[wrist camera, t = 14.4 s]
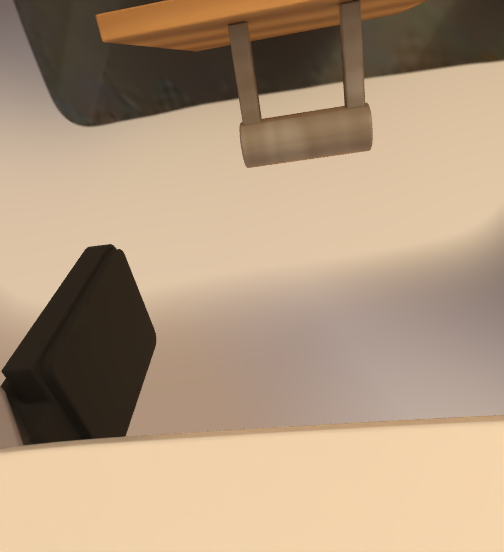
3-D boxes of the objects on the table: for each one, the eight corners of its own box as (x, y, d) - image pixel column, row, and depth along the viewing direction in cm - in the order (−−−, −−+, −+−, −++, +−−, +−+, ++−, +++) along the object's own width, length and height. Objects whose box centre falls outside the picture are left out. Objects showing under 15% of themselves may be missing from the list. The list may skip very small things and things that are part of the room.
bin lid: (94, 14, 14) (142, 195, 17) (512, -71, 12) (495, 146, 15) (192, 37, 28) (211, 134, 31) (397, -2, 26) (398, 105, 29)
